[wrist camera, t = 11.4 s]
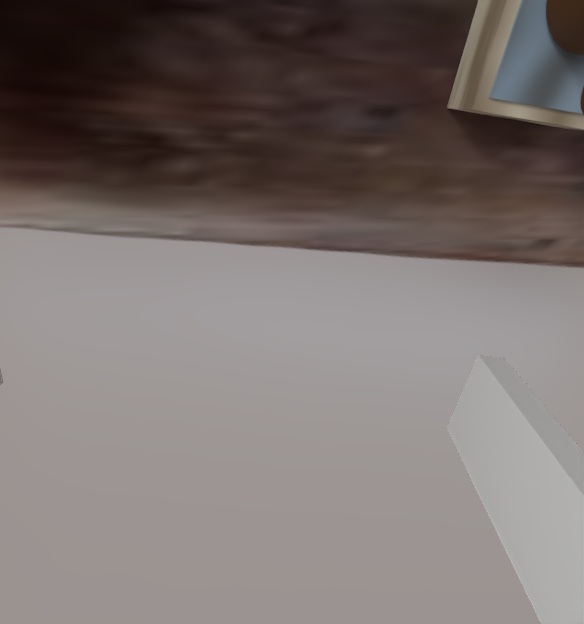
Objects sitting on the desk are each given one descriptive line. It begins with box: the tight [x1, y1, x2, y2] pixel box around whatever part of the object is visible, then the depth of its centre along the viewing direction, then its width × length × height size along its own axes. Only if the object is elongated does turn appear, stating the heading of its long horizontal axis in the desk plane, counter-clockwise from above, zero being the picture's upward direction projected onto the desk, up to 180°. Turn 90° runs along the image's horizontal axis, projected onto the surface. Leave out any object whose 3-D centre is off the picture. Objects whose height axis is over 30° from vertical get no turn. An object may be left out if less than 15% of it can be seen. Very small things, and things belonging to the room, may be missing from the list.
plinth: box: [447, 0, 584, 131], centre depth 32 cm, size 12×12×6 cm
